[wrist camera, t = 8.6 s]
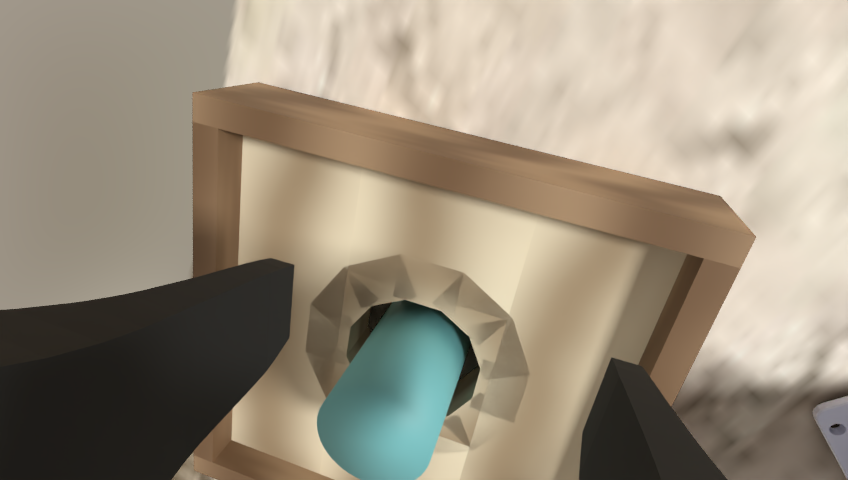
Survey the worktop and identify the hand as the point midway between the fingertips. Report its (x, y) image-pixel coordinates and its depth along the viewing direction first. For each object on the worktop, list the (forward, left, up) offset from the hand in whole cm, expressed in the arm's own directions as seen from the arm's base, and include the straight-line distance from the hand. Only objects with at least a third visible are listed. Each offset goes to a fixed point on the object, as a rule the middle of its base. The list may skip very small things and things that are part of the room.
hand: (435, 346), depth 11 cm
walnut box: (-3, +6, -10) cm, 12 cm away
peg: (-3, +6, -10) cm, 12 cm away
